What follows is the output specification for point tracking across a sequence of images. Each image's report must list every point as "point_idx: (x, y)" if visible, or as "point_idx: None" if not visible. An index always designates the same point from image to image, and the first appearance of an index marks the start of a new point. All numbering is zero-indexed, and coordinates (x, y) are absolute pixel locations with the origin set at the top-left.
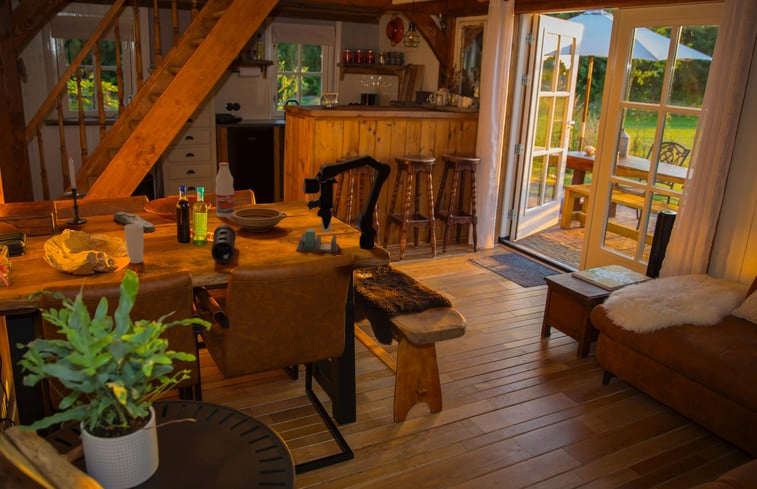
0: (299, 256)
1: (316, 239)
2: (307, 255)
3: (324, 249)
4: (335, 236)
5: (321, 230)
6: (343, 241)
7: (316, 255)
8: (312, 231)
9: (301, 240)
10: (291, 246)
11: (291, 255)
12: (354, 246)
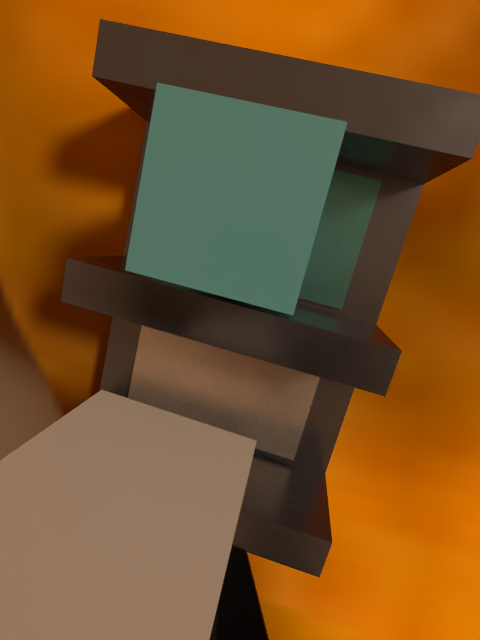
0: (11, 89)
1: (145, 290)
2: (41, 172)
3: (135, 352)
4: (270, 552)
5: (83, 404)
6: (462, 589)
7: (42, 257)
8: (159, 236)
9: (101, 61)
10: (363, 2)
11: (38, 2)
12: (281, 624)
